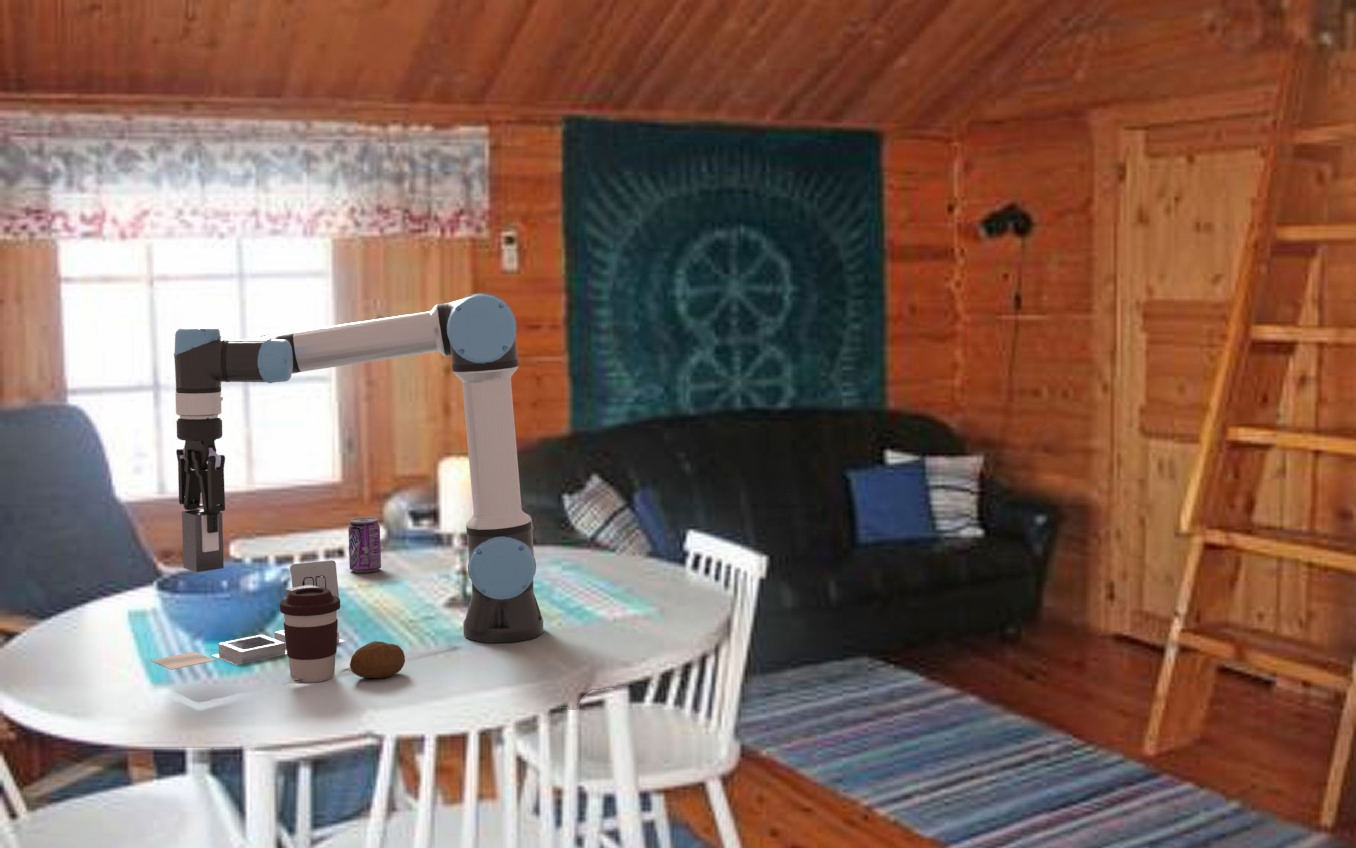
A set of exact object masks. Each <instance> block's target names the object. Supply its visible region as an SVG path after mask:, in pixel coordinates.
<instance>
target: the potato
mask: <svg viewBox="0 0 1356 848" xmlns="http://www.w3.org/2000/svg"><path fill="white" fill-rule="evenodd" d="M405 661H406V657H405V652H404V650H403V649H402V648H401V647H400V646H399V645H398V644H395V643H389V642H388V643H387V642H386V641H385V642H384V641H377V640H374V641H372V642H369V643H366V644H364V645H362V646H361V647H359V648H358V649H357V650H356V651H355V652H354V653H353V655H352V656H351V659H350V662H349V669H350V671H352V673H353V674H354V675H356V676H358V677H360V678H364V679H383V678H389V677H392V676H395V675H396V674H398V673H399V672H400V671H401V670H402V669H403V667H404V666H405Z"/></svg>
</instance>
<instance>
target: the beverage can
mask: <svg viewBox="0 0 1356 848" xmlns="http://www.w3.org/2000/svg"><path fill="white" fill-rule="evenodd" d="M380 527H381V526H380V524H379V522H378V518H376V517H365V516H364V517H355V518H352V519H350V524H349V526H348V530H347V531H348V555H349V556H348V558H349V559H348V561H349V569H350V570H351V571H352V572H354V573H357V574H370V573H374V572H377V571H378V570H379V569H381V568H382V555H381V554H382V553H381V550H382V549H381V528H380Z"/></svg>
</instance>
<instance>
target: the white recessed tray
mask: <svg viewBox="0 0 1356 848" xmlns="http://www.w3.org/2000/svg"><path fill="white" fill-rule="evenodd" d="M273 634H274V638H272V637H270V636H267V635H265V634H257V635H252V636H247V637H242V638H238V639H233V640H228V641H222V642H218V653H216V654H212V655H211V657H214V658H217V659H219V660H221V661H224V662H227V663H229V664H232V665H234V666H239V665H242V664H243V665H244V664H248V663H251V662H252V663H253V662H257V661H262V660H267V659H272V658H276V657H279V656H280V657H281V656H285V655H287V650H286V641H285V632H284V629H282V630H278V631H274V633H273ZM345 642H346V640H345V639H341V638H340V631H339V630H337V644H341V643H345Z"/></svg>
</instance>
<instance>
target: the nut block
mask: <svg viewBox="0 0 1356 848" xmlns="http://www.w3.org/2000/svg"><path fill="white" fill-rule="evenodd" d="M199 509H200V510H191V511H186V510H183V511H181V525H182V526H181V527H182V528H181V529H182V530H181V531H182V532H181V533H182V561H183V562H182V563H183V567H182V568H183V569H186V570H189V571H191V572H194V573H195V572H196V573H202V572H207V571H214V570H220V569H224V568H225V567H224V563H225V562H224V535H223V534H224V532H223V511H221V512H220V513H218V538H219V550H216V551H209V552H202V524H201V515H200V512H203V511H204V509H203V508H199Z"/></svg>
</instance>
